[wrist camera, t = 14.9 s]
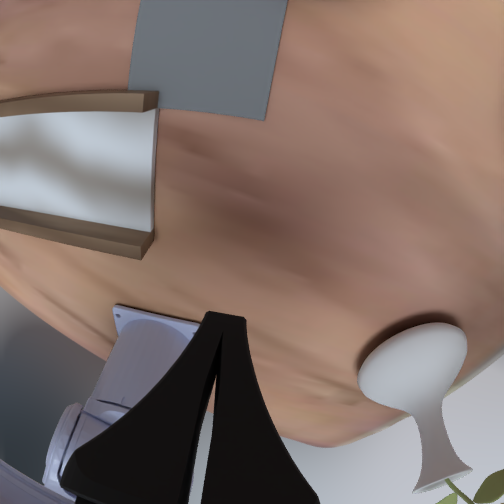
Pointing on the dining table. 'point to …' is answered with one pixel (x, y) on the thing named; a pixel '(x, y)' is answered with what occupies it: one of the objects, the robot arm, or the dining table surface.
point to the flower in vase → (426, 400)
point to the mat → (208, 54)
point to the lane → (81, 168)
